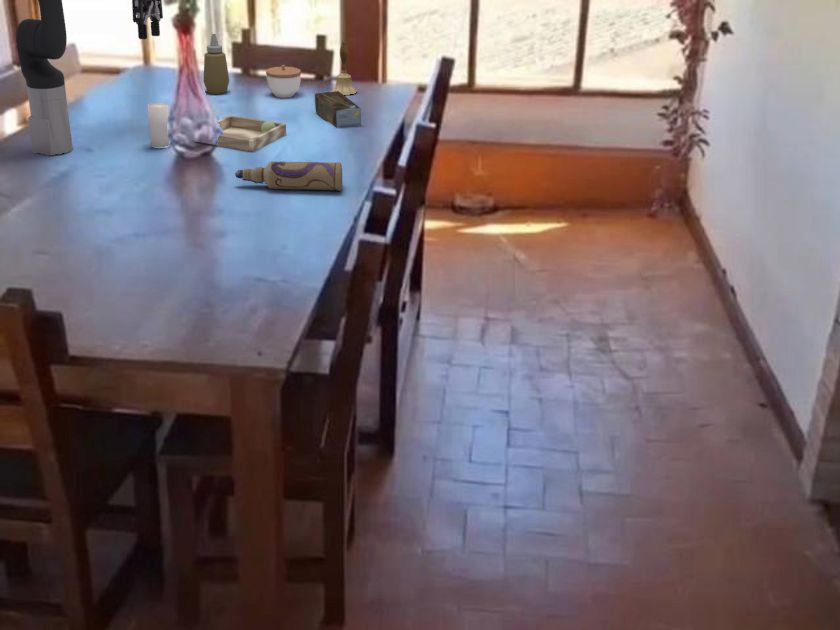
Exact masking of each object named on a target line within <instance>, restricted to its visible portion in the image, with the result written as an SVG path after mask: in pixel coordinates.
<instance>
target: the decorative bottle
mask: <svg viewBox="0 0 840 630" xmlns="http://www.w3.org/2000/svg"><path fill="white" fill-rule="evenodd" d="M234 174H235V177H236V178H237V179H241V180H242V181H245V182H252V183H253V184H262V185H263V184H265V185H266V186H267V187H268V188H269V189H271V190H296V191H297V190H305V191H312V190H313V191H337V192H339V191H342V189H343V165H342V163H341V162H339V161H338V162H327V161H326V162H325V161H323V162H321V161H320V162H319V161H280V160H279V161H277V160H276V161H274V160H273V161H269V162H268V163H267V166H265V167H262V166H257V167H254V168H243V169H238V170H236V172H235V173H234Z"/></svg>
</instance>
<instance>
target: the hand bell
mask: <svg viewBox="0 0 840 630" xmlns="http://www.w3.org/2000/svg"><path fill="white" fill-rule="evenodd" d="M339 56H340V60H341V61H340V62H341V70H340V71H341V72H340V73H339V74H337V76H336V81H335V82H336V83H335V84H334V87H333V88H332V90H331V91H330V92H335V91H339V92H340V93H342V94H343V95H346V96H351V95H350V94H354V93H356V92H357V93H358V90H357V89H356V88H355V87H354V84H353V81H352V76H351V75H350V74H349V73H348V70H347V65H348V64H347V63H348V59H349V58H348V57H349V49H348V44H347V41H341V45H340V48H339ZM357 93H356V94H357ZM354 95H355V94H354Z"/></svg>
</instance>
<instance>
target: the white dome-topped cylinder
mask: <svg viewBox="0 0 840 630" xmlns="http://www.w3.org/2000/svg"><path fill="white" fill-rule="evenodd" d="M147 116H148V127H149V128H148V130H149V137H150V138H149V139H150V140H149V141H150V147H151V146H153V147H165V146H168V145H169V141H168V137H167V119H168V116H170V105H169V103H167V102H151V103H148V104H147ZM169 146H170V145H169Z"/></svg>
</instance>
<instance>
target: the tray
mask: <svg viewBox="0 0 840 630" xmlns="http://www.w3.org/2000/svg"><path fill="white" fill-rule="evenodd" d="M217 121H218V123H219V124H220V127H221V129H222V130H223V135H219V137H218V146H217V147H219V148H220V147H221V148H227V149H232V150H238V151H239V150H240V151H245V152H251V153H254V152H256V151H257V150H259V149H261V148H263V147H265V146H267V145H269V144H270V143H272V142H274V141H276V140H278V139H280V138H282V137H283V136H286V135H287V123H283V122H276V121H272V122H273V123H274V124H275V126H276V127H275V128H273V129H271V130H269V131H267V132H265V133H263V132H262V130H261V126H262V124H263V123H264V122H266V121H267V120H263V119H258V118H257V119H256V118H249V117H243V116H237V115H236V116H235V115H230V114H229V115H228V116H225V117H223V118H221V119H218V120H217Z"/></svg>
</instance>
